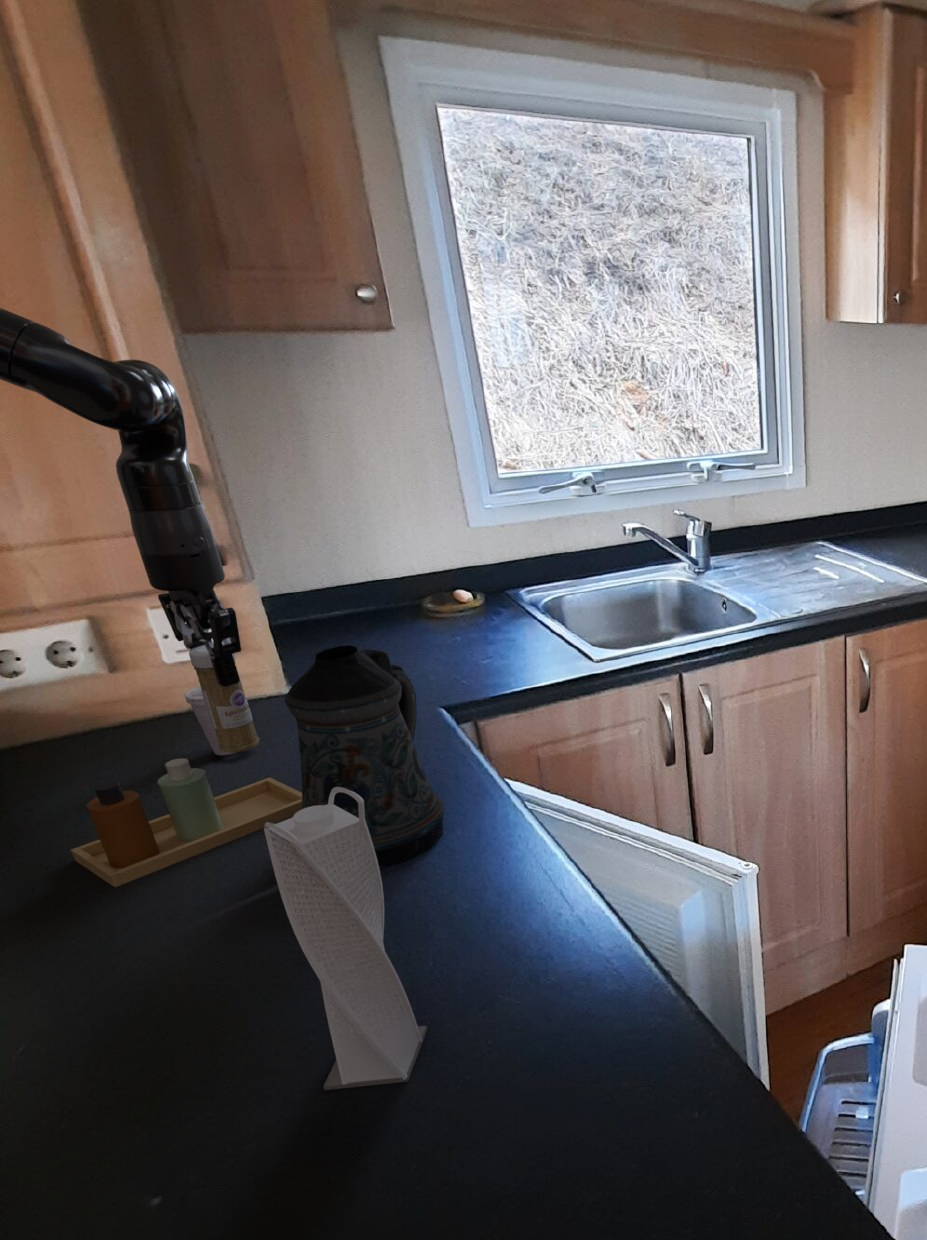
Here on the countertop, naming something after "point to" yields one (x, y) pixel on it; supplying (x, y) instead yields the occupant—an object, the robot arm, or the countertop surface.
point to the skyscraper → (346, 940)
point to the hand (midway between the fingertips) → (219, 679)
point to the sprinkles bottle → (224, 706)
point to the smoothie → (204, 718)
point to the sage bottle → (189, 801)
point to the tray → (239, 818)
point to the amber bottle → (121, 825)
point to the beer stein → (366, 749)
